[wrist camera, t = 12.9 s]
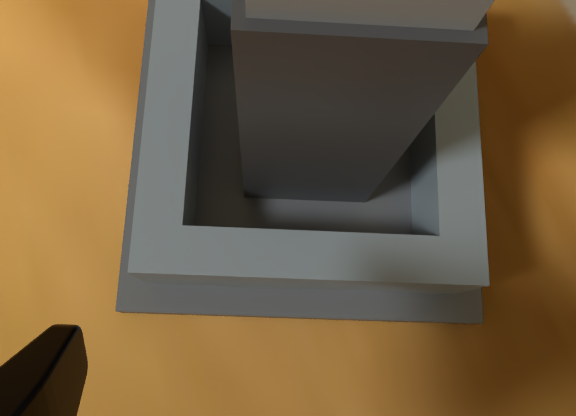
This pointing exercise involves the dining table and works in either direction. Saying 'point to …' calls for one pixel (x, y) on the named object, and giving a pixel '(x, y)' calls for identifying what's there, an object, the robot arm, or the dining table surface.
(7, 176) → the dining table surface
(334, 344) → the dining table surface
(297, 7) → the dark gray plug block
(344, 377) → the dining table surface
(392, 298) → the socket holder
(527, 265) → the dining table surface
